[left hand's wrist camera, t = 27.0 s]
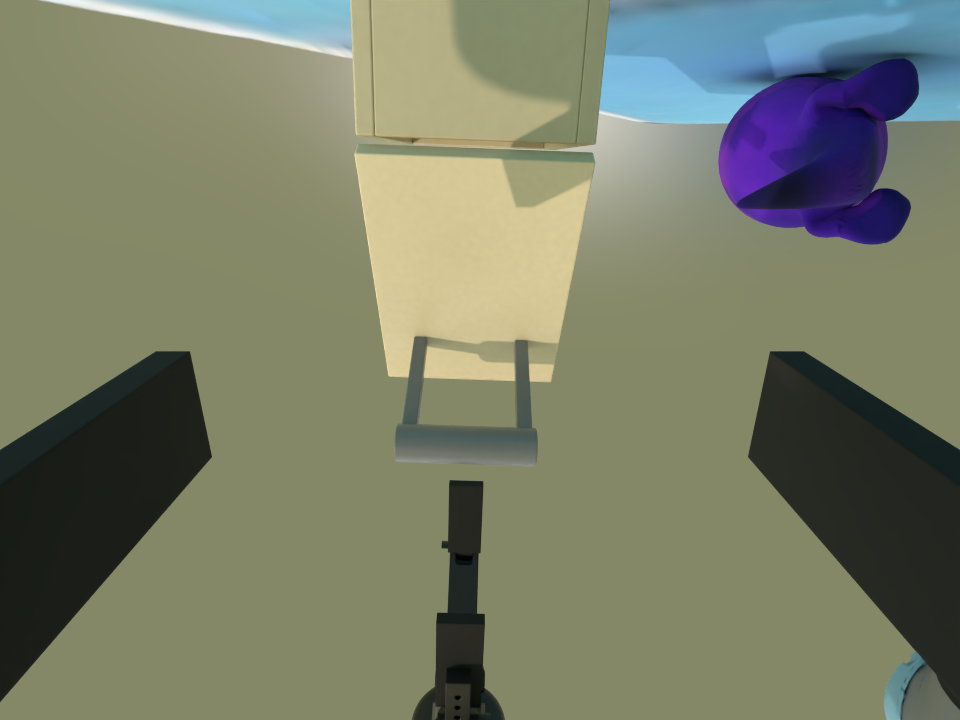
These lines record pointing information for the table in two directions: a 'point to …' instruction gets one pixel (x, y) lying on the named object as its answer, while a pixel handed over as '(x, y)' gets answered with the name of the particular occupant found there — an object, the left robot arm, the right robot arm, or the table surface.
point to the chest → (479, 71)
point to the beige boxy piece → (471, 279)
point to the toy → (820, 153)
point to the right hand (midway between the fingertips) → (464, 538)
